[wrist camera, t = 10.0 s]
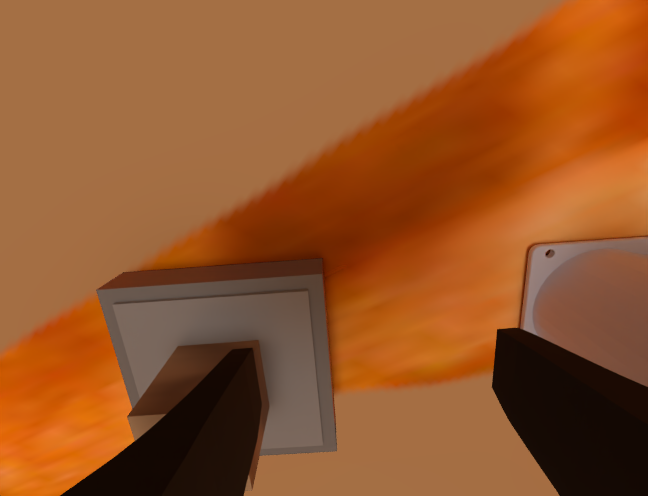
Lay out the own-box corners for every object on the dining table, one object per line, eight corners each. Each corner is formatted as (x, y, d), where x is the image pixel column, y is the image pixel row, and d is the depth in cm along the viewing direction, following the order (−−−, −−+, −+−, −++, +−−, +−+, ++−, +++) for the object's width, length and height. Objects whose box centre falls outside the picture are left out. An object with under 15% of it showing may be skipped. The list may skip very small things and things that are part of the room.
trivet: (322, 258, 20) (322, 275, 17) (335, 419, 24) (336, 454, 21) (123, 272, 20) (93, 292, 18) (166, 430, 24) (146, 465, 21)
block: (258, 339, 18) (235, 409, 14) (269, 406, 20) (252, 490, 15) (177, 346, 19) (126, 416, 14) (194, 411, 20) (153, 496, 15)
